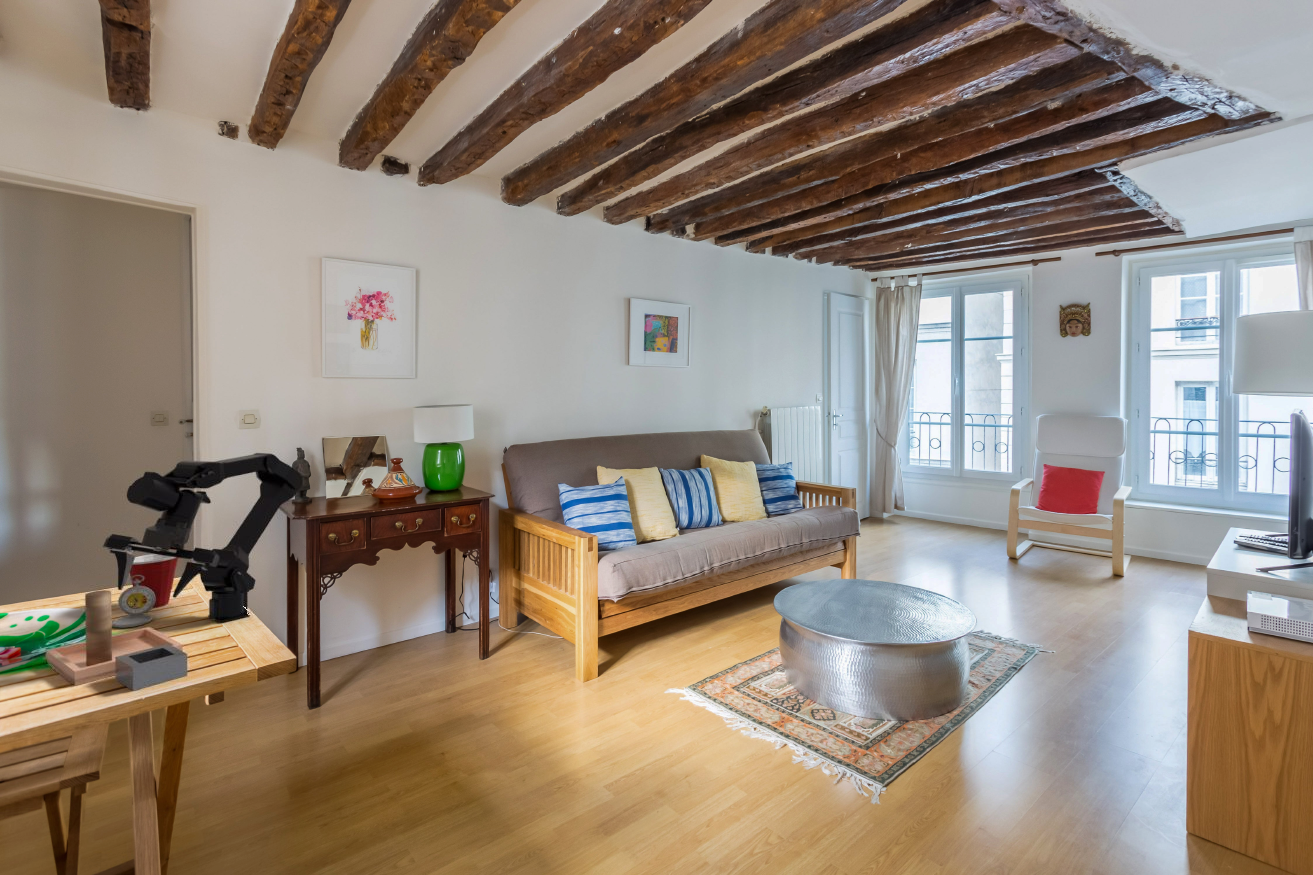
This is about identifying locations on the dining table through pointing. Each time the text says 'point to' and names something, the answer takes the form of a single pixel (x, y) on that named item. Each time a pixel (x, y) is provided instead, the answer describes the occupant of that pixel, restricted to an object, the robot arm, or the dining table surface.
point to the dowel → (98, 627)
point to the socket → (150, 666)
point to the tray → (77, 672)
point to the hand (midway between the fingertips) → (147, 593)
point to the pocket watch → (134, 596)
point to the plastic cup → (155, 575)
